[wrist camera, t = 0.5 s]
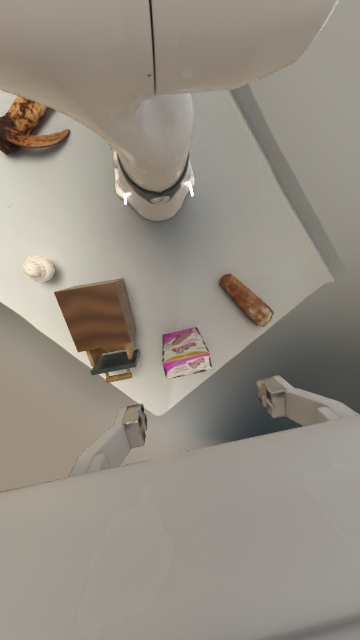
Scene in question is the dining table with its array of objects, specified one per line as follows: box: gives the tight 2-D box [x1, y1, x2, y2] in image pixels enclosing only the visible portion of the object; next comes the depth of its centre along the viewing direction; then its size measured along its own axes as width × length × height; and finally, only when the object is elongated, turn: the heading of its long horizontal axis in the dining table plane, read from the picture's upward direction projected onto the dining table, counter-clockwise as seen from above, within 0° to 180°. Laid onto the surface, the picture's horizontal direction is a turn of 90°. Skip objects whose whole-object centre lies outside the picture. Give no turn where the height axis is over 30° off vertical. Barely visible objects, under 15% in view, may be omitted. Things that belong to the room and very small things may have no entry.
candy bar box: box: [162, 328, 212, 379], centre depth 46 cm, size 11×5×16 cm, turn 101°
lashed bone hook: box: [0, 96, 70, 154], centre depth 33 cm, size 9×5×18 cm
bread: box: [220, 274, 274, 327], centre depth 49 cm, size 6×19×6 cm, turn 46°
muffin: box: [23, 255, 55, 282], centre depth 41 cm, size 6×6×7 cm
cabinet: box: [54, 279, 136, 352], centre depth 44 cm, size 15×13×10 cm
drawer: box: [86, 338, 140, 382], centre depth 48 cm, size 18×12×8 cm, turn 9°
